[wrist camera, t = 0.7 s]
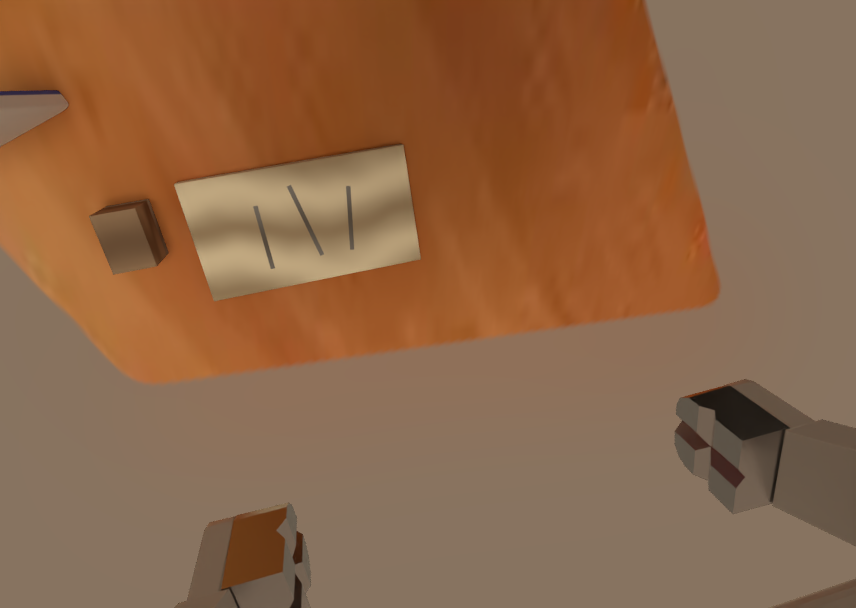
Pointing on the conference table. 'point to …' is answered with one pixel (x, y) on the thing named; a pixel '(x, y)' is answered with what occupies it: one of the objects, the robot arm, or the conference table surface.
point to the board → (301, 220)
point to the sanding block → (129, 236)
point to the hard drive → (27, 111)
